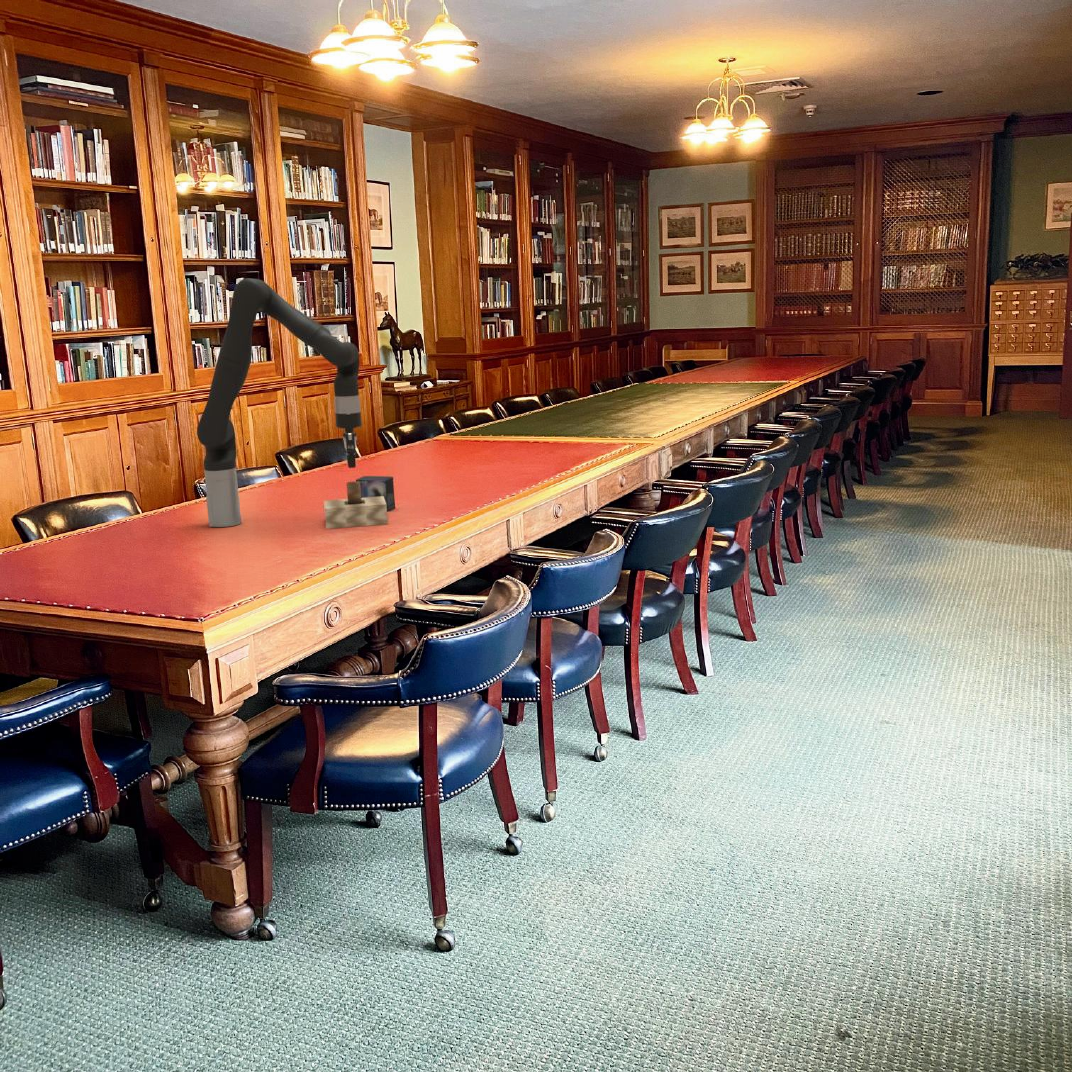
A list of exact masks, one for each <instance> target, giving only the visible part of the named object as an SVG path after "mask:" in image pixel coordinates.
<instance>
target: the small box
mask: <svg viewBox="0 0 1072 1072" xmlns="http://www.w3.org/2000/svg"><path fill="white" fill-rule="evenodd" d="M355 482H360V488H361V498H366V497H380V496H384V499H385V502H386V506H387V513H388V512H391V511H393V510H395V509H396V502H395V500H396V499H395V486H394V476H388V475H387V476H386V475H383V476H382V475H375V476H374V475H364V476H363V475H362V476H361V477H358V478H356V479H355Z"/></svg>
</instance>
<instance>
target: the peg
mask: <svg viewBox="0 0 1072 1072" xmlns="http://www.w3.org/2000/svg"><path fill="white" fill-rule="evenodd" d="M346 494H347V499H348V505H351V504H362V500H361V488H360V482H356V481H349V482H346Z"/></svg>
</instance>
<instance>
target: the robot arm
mask: <svg viewBox="0 0 1072 1072" xmlns="http://www.w3.org/2000/svg"><path fill="white" fill-rule="evenodd" d="M232 293H233V294H232V299H231V306H230V311H229V317H228V321H227V325H226V328H225V333H224V335H223V339H222V344H221V347H220V349H219V353H218V357H217V359H216V364H215V369H214V373H213V376H212V380H211V384H210V388H209V393H208V397H207V401H206V404H205V407H204V409H203V412H202V414H201V417H200V418H199V419H200V420H199V422H198V424H197V428H196V436H197V438H198V441H199V443H200V445H203V446H204V447H205V457H204V459H203V471H204V479H205V480H204V481H205V482H204V483H205V488H206V489H205V491H206V496H205V498H206V507H207V508H206V509H207V517H208V527H209V528H226V527H234V526H238V525H241V524H242V515H241V507H240V505H241V503H240V496H239V485H238V477H237V476H238V475H237V465H236V460H237V443H236V442H237V441H236V433H235V431H236V430H235V426H234V423H233V422H232V420H231V419H230V415H231V411H232V408H233V405H234V403H235V401H236V399H237V397H238V396H239V394H240V392H241V390H242V388H243V386H244V384H245V383H246V379H247V377H248V374H249V370H250V365H251V363H252V362H251V361H252V357H253V342H252V337H253V336H252V334H253V328H254V324H255V320H256V318H257V315H258V312H260V313H262V314H263V315H267V316H269V317H270V318H272V319H274V320H276V321H277V322H278V323H280V324H281V325H282V326H284V328H286V329H287V331H289V332H290V333H291V334H292V335H293V336H294V337H296V338H297V339H298V340H300V341H302V343H304V344H305V345H307V346H308V347H310V348H312V349H313V350H315V351H317V352H318V353H319V355H321V356H322V357H323V358H324V359H325V360H326V361H328V362H329V363H330V364H332V365H333V366H335V367H336V376H335V378H334V379H333V389H334V414H335V415H334V417H335V418H334V419H335V427H336V428H338V429H344V430H343V431H344V433H343V432H342V440H343V445H344V446H343V447H344V449H345V451H346V452H345V453H346V462H347V467H348V468H349V469H355V468H357V467H356V466H357V465H356V452H357V451H356V449H357V439H358V438H357V433H356V432H354V429H355V428H357V429H358V428H360V427H362V426H363V425H362V423H363V422H362V409H361V400H360V392H359V381H358V379H359V378H358V377H359V369H360V353H359V349H358V347H357V346H356V345H355V344H354V343H352V342H350V341H345V342H344V341H343V342H342V341H340V340H339V339H337V338H336V337H335V336H333V335H332V333H331V331H330V330H329V329H328V328H326V327H325V326H323V325H322V324H320V323H319V322H318V321H316V320H315V319H313V318H311V317H309V316H308V315H306V314H305V313H303V312H301V310H299V309H297V308H295V307H294V306H293V305H291V304H290V303H289V302H287V301H286V300H285V299H284V298H283V297H282V296H281V295H280V294H278V293H277V292H276V291H275V289H273V288H272V287H271V286H270V285H269V284H267V283H266V282H265V281H264V280H262V279H260V278H259V279H258V278H249V277H247V278H243V279H240V280H239V282H237V283H236V285H235V287H234V289H233V292H232Z"/></svg>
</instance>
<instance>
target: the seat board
mask: <svg viewBox="0 0 1072 1072" xmlns="http://www.w3.org/2000/svg"><path fill="white" fill-rule="evenodd" d="M361 500H362V504H351V505H348V498H343V499H330V500H327V499H326V500H323V504H324V506H323V507H324V509H323V510H324V520H325V529H326V530H330V529H342V528H343V529H344V528H354V527H367V526H381V525H382V526H383V525H388V524H389V523H388V512H387V506H386V502H385V499H384V496H380V497H366V498H361Z"/></svg>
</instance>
